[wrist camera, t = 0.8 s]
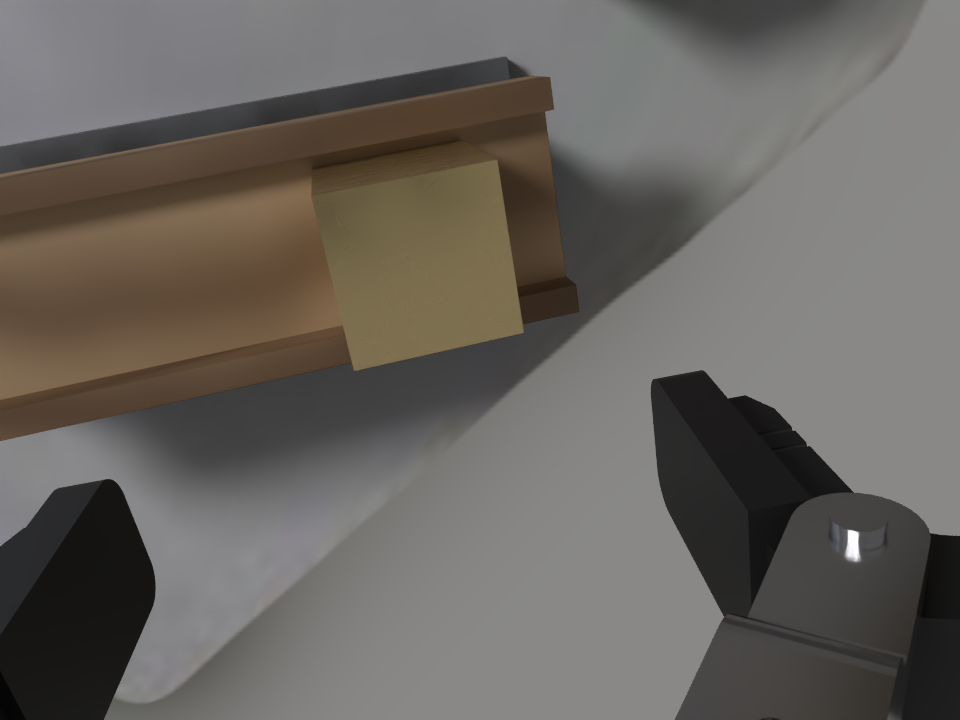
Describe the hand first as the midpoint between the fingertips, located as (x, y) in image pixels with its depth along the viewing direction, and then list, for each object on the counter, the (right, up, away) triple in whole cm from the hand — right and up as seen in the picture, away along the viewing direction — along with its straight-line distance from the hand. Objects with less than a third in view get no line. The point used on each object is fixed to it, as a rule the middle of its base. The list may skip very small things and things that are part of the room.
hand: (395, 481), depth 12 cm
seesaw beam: (-11, +5, +16) cm, 20 cm away
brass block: (-1, +6, +16) cm, 17 cm away
